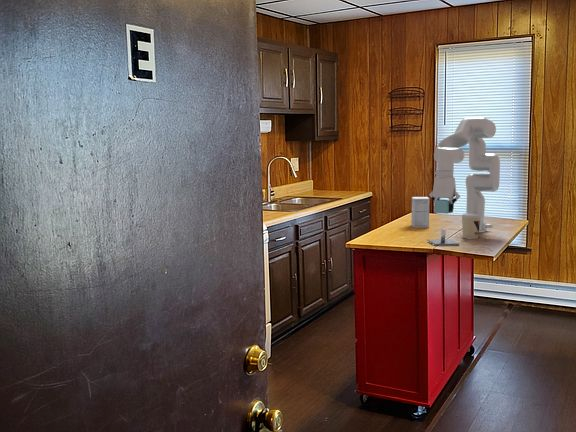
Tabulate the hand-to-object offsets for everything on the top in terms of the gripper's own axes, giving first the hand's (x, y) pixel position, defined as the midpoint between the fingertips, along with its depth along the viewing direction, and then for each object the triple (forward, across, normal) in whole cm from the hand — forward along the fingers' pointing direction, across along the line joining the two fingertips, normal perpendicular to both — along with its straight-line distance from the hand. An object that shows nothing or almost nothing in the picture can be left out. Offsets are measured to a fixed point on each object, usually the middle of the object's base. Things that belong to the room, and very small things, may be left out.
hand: (443, 210), depth 293 cm
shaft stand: (+16, 0, 0) cm, 16 cm away
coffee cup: (+16, +3, +26) cm, 30 cm away
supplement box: (+16, -35, +43) cm, 58 cm away
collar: (+1, 0, 0) cm, 1 cm away
